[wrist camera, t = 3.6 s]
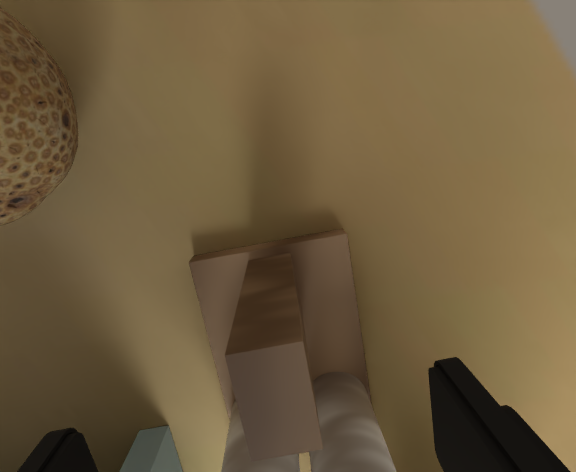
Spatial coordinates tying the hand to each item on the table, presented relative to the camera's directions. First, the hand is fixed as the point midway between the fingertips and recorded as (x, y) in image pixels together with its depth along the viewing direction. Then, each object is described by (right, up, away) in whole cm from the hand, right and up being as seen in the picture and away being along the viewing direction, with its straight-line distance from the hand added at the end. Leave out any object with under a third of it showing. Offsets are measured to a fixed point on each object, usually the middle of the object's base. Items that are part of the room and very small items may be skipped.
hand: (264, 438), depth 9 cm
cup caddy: (+1, -2, +13) cm, 14 cm away
